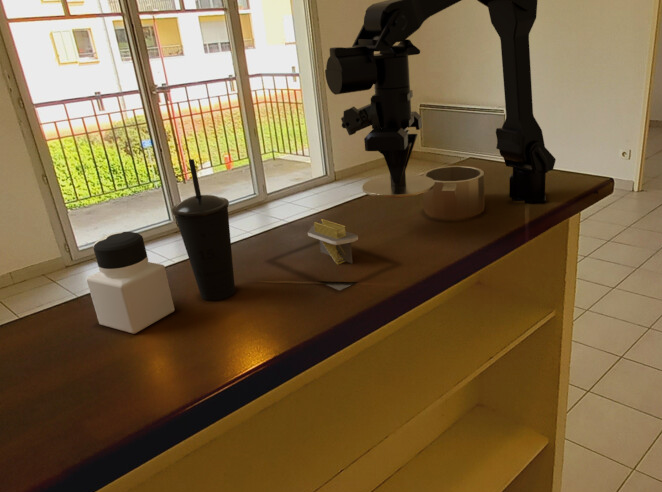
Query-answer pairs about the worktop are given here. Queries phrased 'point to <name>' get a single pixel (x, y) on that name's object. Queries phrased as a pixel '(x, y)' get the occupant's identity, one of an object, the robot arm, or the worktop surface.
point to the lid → (398, 186)
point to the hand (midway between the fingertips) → (398, 180)
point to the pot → (455, 192)
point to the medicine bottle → (128, 284)
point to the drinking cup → (207, 241)
